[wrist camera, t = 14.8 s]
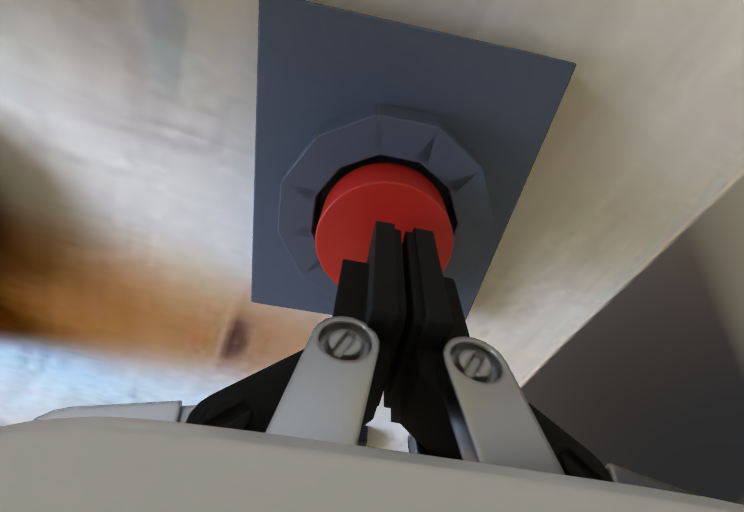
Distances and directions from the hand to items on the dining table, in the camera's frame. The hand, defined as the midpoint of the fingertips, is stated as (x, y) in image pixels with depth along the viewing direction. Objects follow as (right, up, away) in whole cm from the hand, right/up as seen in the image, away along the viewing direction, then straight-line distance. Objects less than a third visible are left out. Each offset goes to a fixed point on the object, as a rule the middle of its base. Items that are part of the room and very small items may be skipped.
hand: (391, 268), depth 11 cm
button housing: (0, +4, +5) cm, 6 cm away
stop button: (0, +2, +2) cm, 3 cm away
